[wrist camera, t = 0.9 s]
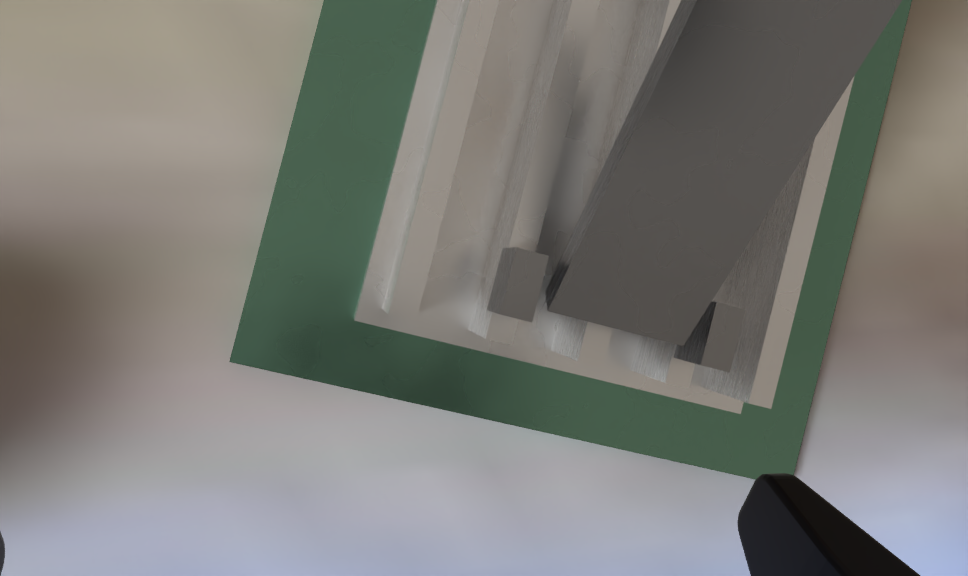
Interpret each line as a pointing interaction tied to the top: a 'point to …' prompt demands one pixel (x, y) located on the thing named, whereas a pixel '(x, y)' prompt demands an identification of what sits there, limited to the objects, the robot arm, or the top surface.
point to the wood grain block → (707, 156)
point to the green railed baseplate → (533, 233)
